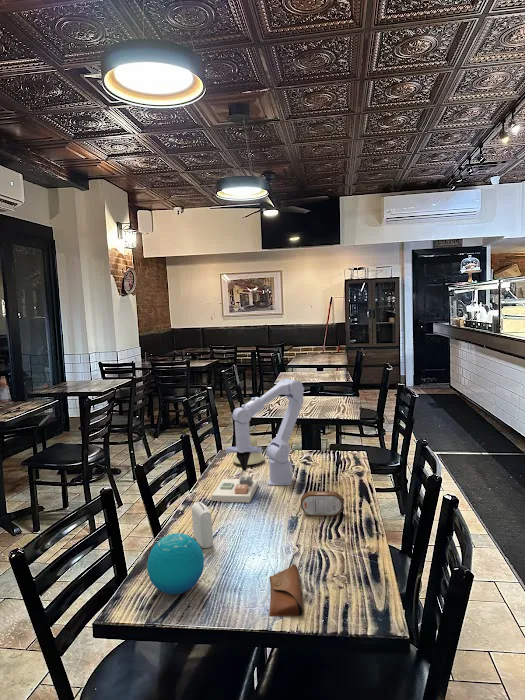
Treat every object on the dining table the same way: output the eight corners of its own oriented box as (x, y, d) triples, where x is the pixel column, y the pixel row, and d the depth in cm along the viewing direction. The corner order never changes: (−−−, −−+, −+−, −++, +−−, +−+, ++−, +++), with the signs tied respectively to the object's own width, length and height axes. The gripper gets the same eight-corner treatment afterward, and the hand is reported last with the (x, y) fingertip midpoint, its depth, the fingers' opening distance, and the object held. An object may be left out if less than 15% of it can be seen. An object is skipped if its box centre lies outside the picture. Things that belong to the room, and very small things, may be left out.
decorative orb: (169, 570, 138) (166, 520, 136) (215, 579, 132) (212, 527, 131) (137, 600, 124) (133, 545, 123) (187, 612, 118) (183, 555, 117)
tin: (343, 513, 169) (342, 490, 168) (344, 517, 166) (343, 493, 165) (301, 513, 171) (300, 490, 170) (300, 517, 168) (299, 494, 167)
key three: (233, 489, 194) (233, 482, 194) (231, 494, 190) (230, 486, 189) (223, 489, 195) (223, 482, 194) (220, 493, 190) (220, 486, 190)
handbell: (252, 469, 218) (250, 416, 215) (226, 465, 226) (223, 413, 224) (270, 459, 231) (268, 409, 228) (245, 455, 239) (242, 406, 236)
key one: (252, 484, 196) (252, 476, 196) (250, 488, 192) (250, 480, 192) (242, 483, 197) (241, 476, 197) (239, 487, 193) (239, 480, 193)
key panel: (258, 485, 199) (257, 479, 198) (249, 502, 182) (249, 496, 182) (223, 484, 201) (222, 479, 201) (211, 501, 185) (211, 495, 184)
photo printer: (191, 536, 157) (189, 500, 156) (204, 533, 159) (202, 497, 158) (202, 550, 148) (199, 512, 147) (215, 546, 150) (212, 508, 149)
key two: (248, 491, 189) (248, 483, 188) (246, 496, 184) (245, 488, 184) (237, 491, 189) (237, 483, 189) (235, 495, 185) (234, 488, 185)
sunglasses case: (267, 575, 133) (278, 555, 132) (289, 586, 133) (301, 566, 132) (268, 617, 115) (281, 594, 114) (294, 630, 115) (307, 607, 114)
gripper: (222, 440, 190) (224, 473, 191) (258, 440, 187) (260, 473, 189) (227, 435, 197) (229, 467, 198) (261, 435, 194) (263, 467, 196)
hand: (244, 469), depth 194 cm, fingers closed
